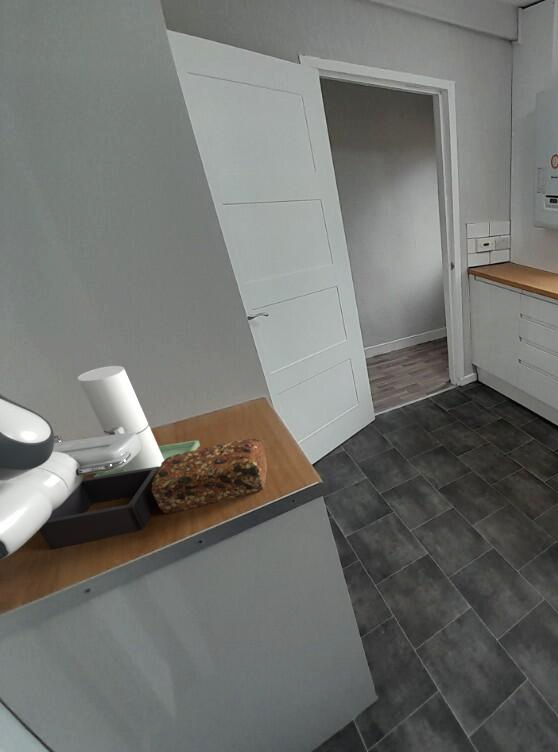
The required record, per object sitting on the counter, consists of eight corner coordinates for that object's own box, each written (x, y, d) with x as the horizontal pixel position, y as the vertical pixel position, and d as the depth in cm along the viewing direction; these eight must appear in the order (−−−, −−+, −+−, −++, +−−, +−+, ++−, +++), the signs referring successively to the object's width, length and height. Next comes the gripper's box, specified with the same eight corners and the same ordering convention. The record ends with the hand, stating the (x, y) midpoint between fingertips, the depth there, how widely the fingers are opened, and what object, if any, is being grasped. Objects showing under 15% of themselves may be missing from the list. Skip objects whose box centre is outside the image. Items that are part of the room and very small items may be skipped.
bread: (270, 465, 98) (260, 430, 94) (265, 494, 89) (253, 457, 85) (176, 485, 91) (160, 449, 87) (160, 519, 82) (142, 480, 78)
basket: (50, 549, 75) (35, 524, 73) (88, 502, 86) (77, 479, 84) (143, 530, 80) (132, 506, 77) (168, 488, 91) (159, 466, 88)
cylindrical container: (132, 463, 97) (87, 368, 87) (169, 456, 100) (129, 363, 89) (120, 482, 91) (70, 383, 81) (159, 474, 94) (115, 377, 83)
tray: (82, 499, 87) (79, 493, 86) (117, 458, 100) (114, 452, 99) (179, 482, 92) (176, 476, 92) (200, 445, 105) (198, 439, 105)
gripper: (114, 451, 69) (149, 411, 81) (-53, 476, 62) (11, 429, 74) (128, 481, 71) (159, 438, 83) (-32, 508, 65) (27, 458, 77)
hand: (88, 434), depth 78 cm, fingers open, 8 cm apart
